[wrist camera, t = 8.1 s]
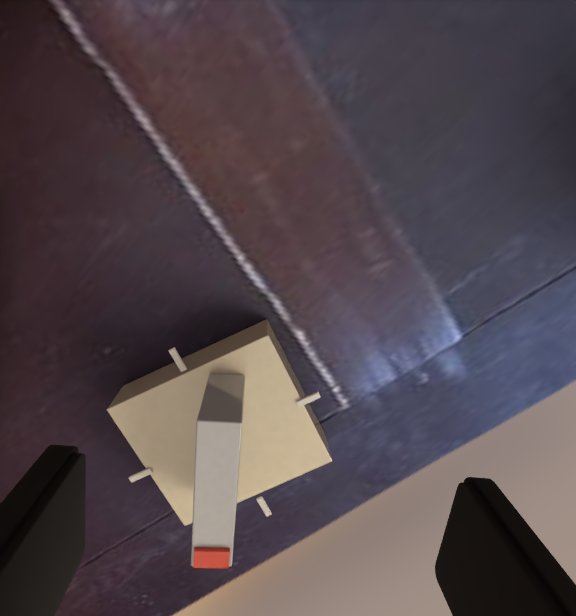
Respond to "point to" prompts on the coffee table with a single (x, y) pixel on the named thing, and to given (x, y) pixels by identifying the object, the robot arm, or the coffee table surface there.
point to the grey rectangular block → (217, 471)
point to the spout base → (255, 425)
